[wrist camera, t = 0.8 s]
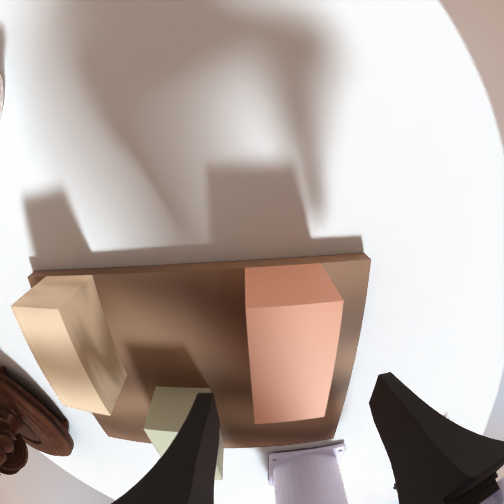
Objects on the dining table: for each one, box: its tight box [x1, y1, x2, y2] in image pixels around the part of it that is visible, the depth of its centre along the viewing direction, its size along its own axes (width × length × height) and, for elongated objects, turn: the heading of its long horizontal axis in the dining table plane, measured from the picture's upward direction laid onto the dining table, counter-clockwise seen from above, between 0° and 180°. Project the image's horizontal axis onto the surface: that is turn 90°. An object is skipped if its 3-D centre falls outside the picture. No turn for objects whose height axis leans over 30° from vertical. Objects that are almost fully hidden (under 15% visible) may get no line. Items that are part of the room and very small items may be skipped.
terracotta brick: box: [245, 263, 344, 424], centre depth 14 cm, size 8×4×4 cm, turn 3°
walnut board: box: [28, 253, 371, 448], centre depth 18 cm, size 18×22×1 cm
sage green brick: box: [144, 386, 224, 480], centre depth 17 cm, size 8×4×4 cm, turn 3°
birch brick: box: [11, 275, 127, 416], centre depth 14 cm, size 8×4×4 cm, turn 3°
